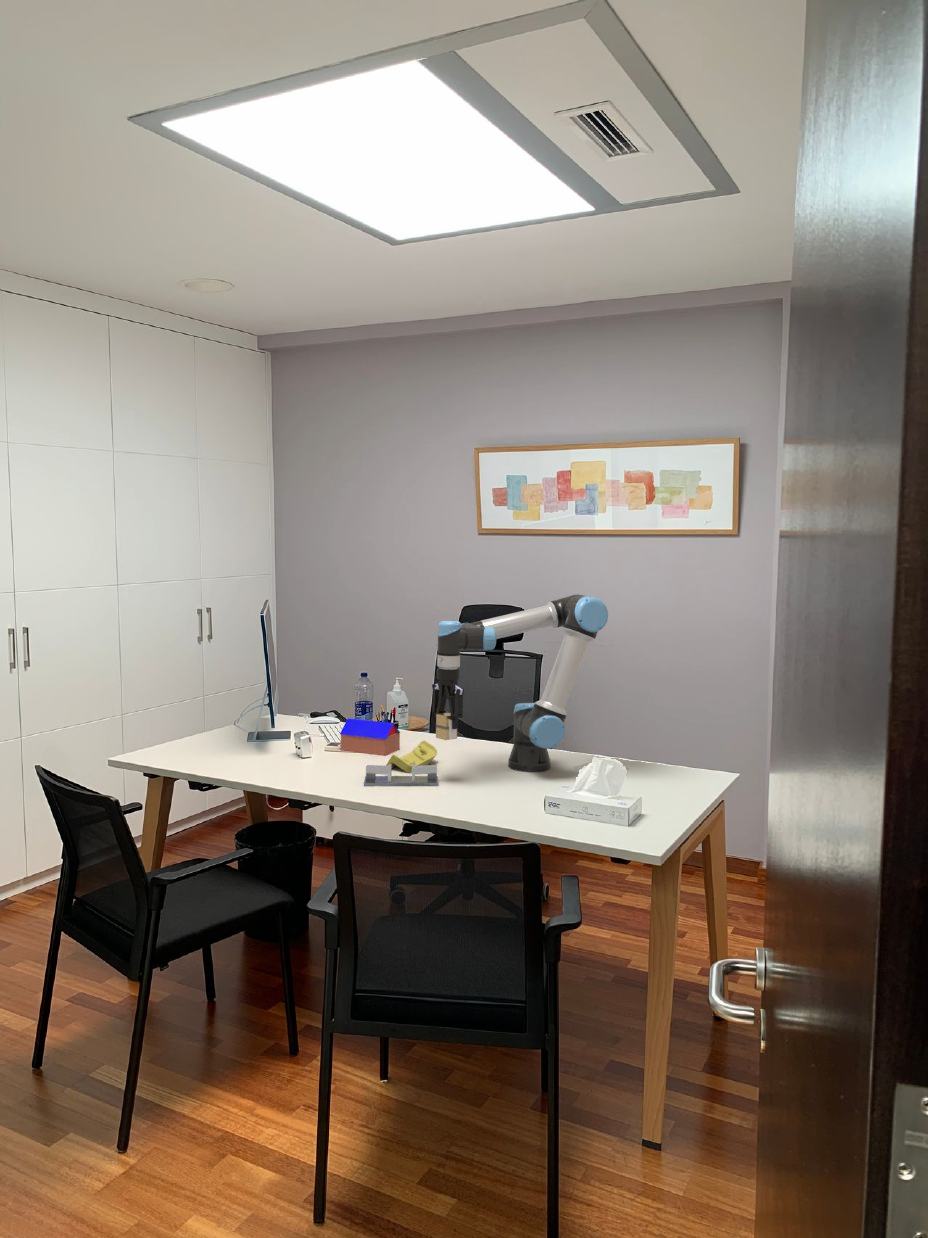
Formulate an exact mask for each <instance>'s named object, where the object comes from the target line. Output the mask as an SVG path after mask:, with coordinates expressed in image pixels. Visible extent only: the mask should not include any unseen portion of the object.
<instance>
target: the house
mask: <svg viewBox="0 0 928 1238" xmlns="http://www.w3.org/2000/svg"><path fill="white" fill-rule="evenodd" d="M400 734H401V732H400V730H399V728H398V727H397V726H396V725H395V723H394V722H388V721H387V722H385V721H378V720H377V721H375V720H368V719H366V720H365V719H357V718H356V719H355V718H347V719H346V721H345V723H344V725H343V727H342V729H341V731H340V733H339V735H340V751H341V752H348V753H358V754H365V755H366V754H367V755H372V756H373V755H375V756H383V757H387V756H388V755H391V754H393V753H395V752H397V751H400V749H401V747H400V743H401V737H400V736H401V735H400Z"/></svg>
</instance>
